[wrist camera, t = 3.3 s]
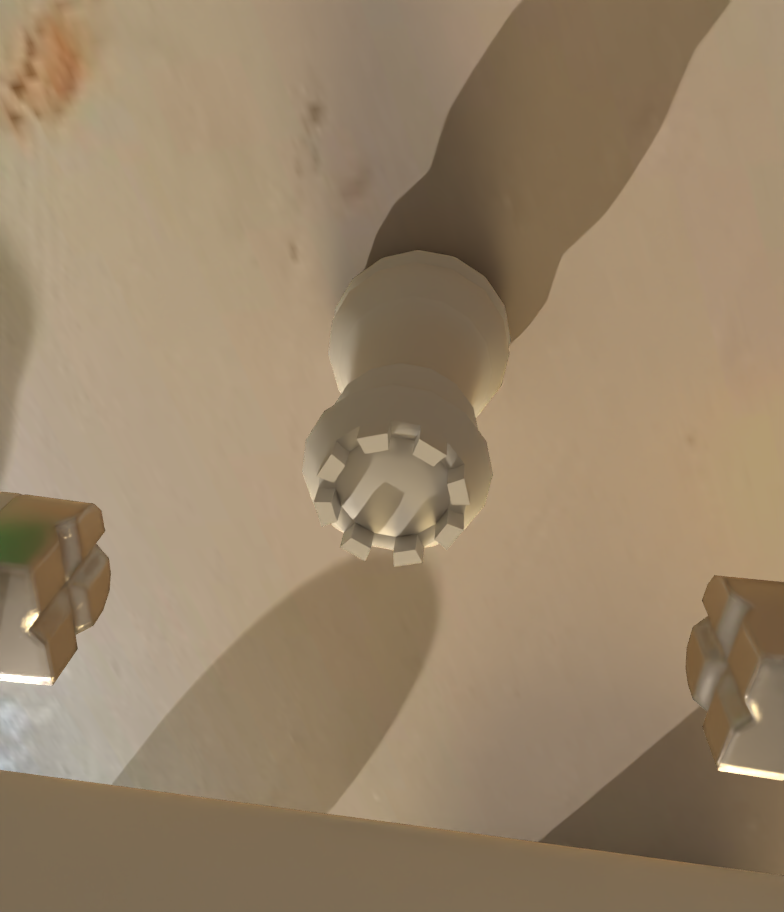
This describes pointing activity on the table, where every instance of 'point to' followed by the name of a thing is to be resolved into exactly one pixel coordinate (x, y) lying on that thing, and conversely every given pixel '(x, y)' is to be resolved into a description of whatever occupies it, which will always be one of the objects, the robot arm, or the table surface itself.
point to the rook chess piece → (408, 405)
